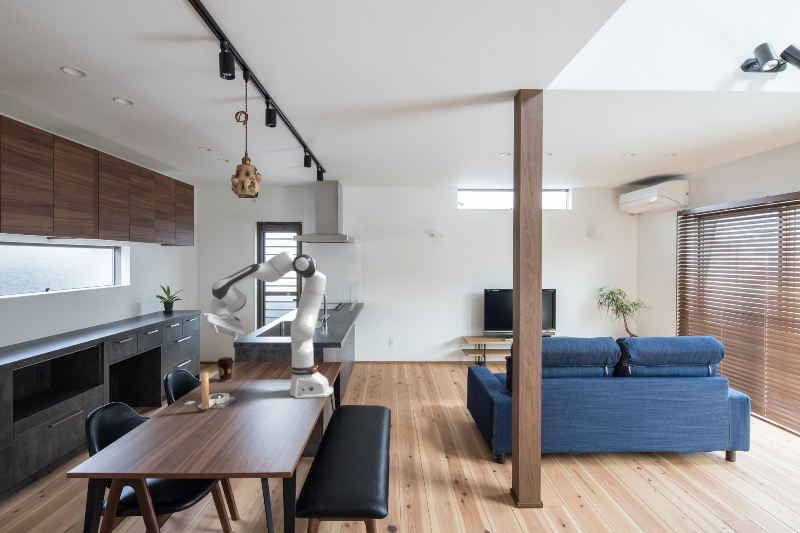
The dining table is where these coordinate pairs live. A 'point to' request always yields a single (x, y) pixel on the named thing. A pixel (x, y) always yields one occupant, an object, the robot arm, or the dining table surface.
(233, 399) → the plinth
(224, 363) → the coffee cup
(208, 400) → the peg stand
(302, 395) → the robot arm
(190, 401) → the lock mark
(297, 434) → the dining table surface
